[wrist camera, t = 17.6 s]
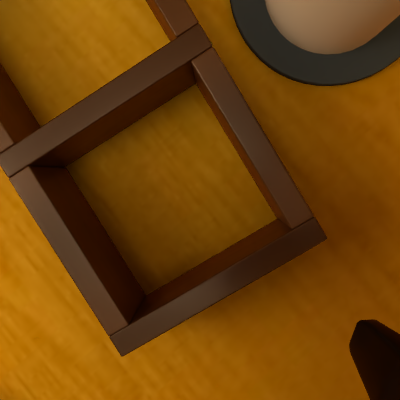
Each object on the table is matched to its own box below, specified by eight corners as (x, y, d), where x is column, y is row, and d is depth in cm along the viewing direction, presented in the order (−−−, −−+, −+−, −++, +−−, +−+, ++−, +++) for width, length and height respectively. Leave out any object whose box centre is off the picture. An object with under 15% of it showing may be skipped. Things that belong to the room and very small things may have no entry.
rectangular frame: (306, 225, 20) (328, 238, 16) (140, 322, 21) (121, 357, 17) (106, -108, 19) (76, -183, 15) (-57, 9, 20) (-126, -33, 16)
